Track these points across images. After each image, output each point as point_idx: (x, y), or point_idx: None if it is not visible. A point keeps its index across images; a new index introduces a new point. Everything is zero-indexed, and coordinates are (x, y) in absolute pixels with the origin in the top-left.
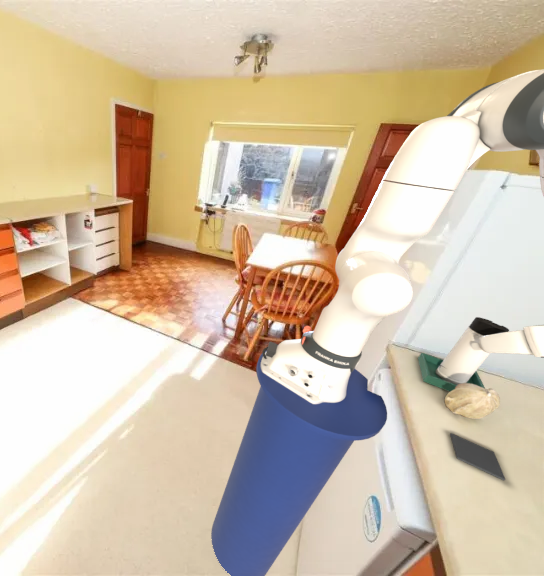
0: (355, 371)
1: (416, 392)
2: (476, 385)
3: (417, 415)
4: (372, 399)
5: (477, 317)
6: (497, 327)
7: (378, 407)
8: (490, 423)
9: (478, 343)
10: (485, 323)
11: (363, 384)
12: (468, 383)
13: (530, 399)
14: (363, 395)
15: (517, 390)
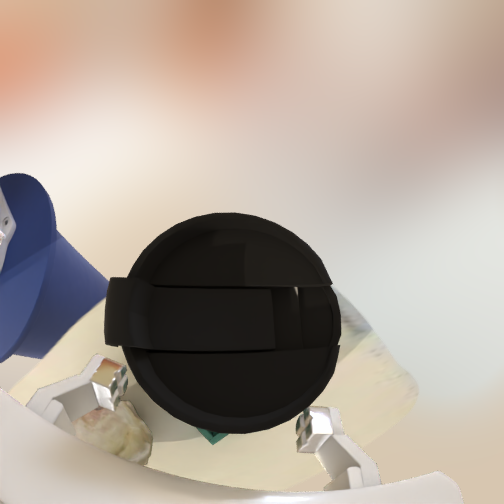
0: (42, 258)
1: (75, 354)
2: (84, 436)
3: (23, 386)
4: (6, 323)
5: (232, 216)
6: (237, 365)
7: (1, 340)
8: (154, 468)
9: (81, 375)
10: (105, 309)
11: (23, 291)
12: (78, 421)
13: (368, 433)
14: (3, 310)
15: (375, 408)
